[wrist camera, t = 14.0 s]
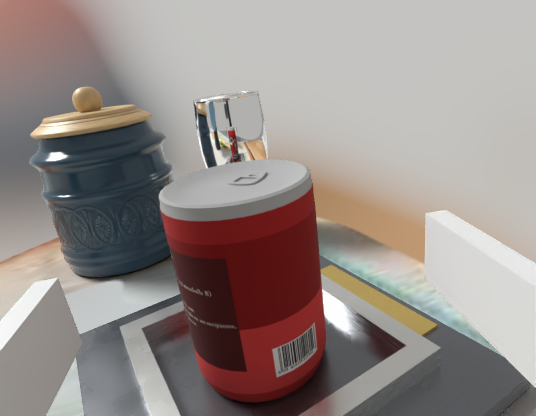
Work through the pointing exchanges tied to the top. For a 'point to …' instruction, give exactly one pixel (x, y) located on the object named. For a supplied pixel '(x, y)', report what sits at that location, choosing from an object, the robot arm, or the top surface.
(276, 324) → the canned food
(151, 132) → the canister
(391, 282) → the top surface
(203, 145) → the beer glass
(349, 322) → the plate
